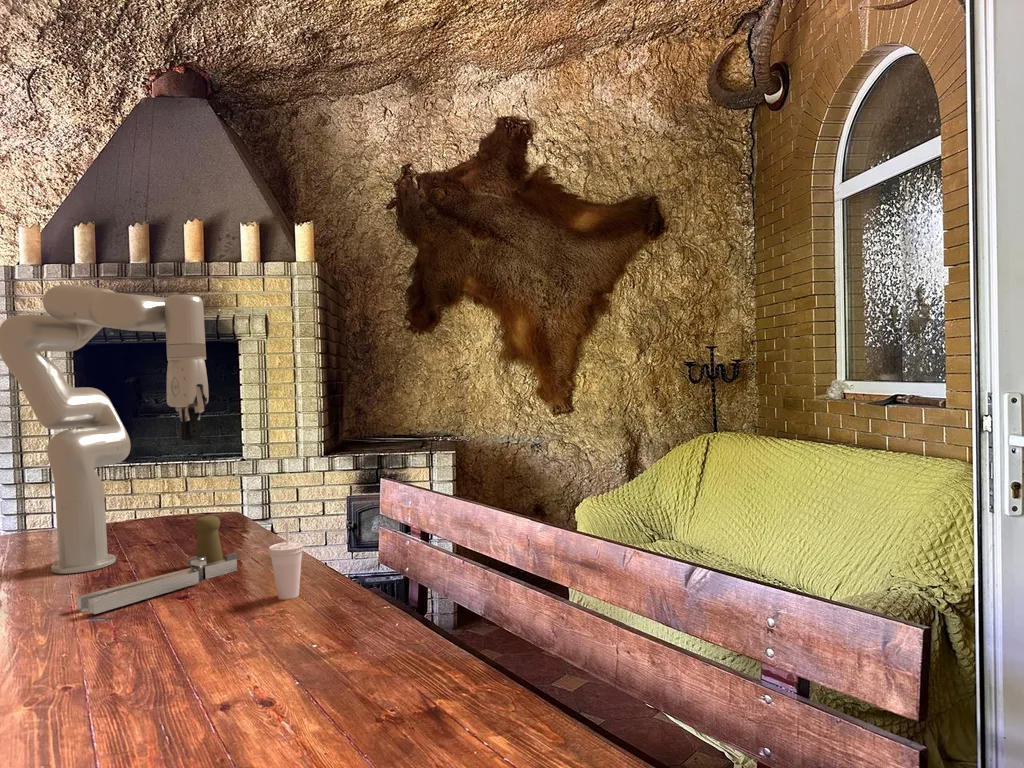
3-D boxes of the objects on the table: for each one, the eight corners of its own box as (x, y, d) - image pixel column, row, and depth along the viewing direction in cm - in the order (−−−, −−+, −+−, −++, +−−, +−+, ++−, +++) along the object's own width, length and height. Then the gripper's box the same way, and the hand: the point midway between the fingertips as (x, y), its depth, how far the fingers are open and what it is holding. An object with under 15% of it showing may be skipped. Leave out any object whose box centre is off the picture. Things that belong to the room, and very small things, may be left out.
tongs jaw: (79, 609, 127) (78, 587, 127) (200, 574, 147) (199, 554, 147) (94, 614, 124) (93, 591, 124) (216, 577, 144) (215, 558, 143)
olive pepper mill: (213, 569, 152) (210, 519, 151) (188, 568, 153) (186, 519, 153) (229, 561, 158) (227, 513, 157) (206, 560, 159) (203, 513, 159)
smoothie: (312, 592, 133) (309, 519, 133) (292, 603, 127) (288, 527, 127) (285, 589, 135) (281, 518, 135) (263, 600, 129) (259, 526, 129)
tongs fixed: (77, 610, 128) (76, 590, 128) (234, 568, 152) (233, 552, 152) (82, 612, 127) (80, 593, 126) (239, 570, 150) (239, 553, 150)
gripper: (153, 355, 149) (157, 440, 149) (185, 352, 139) (189, 442, 140) (187, 354, 155) (192, 436, 155) (221, 351, 145) (225, 438, 146)
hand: (191, 439), depth 148 cm, fingers closed
